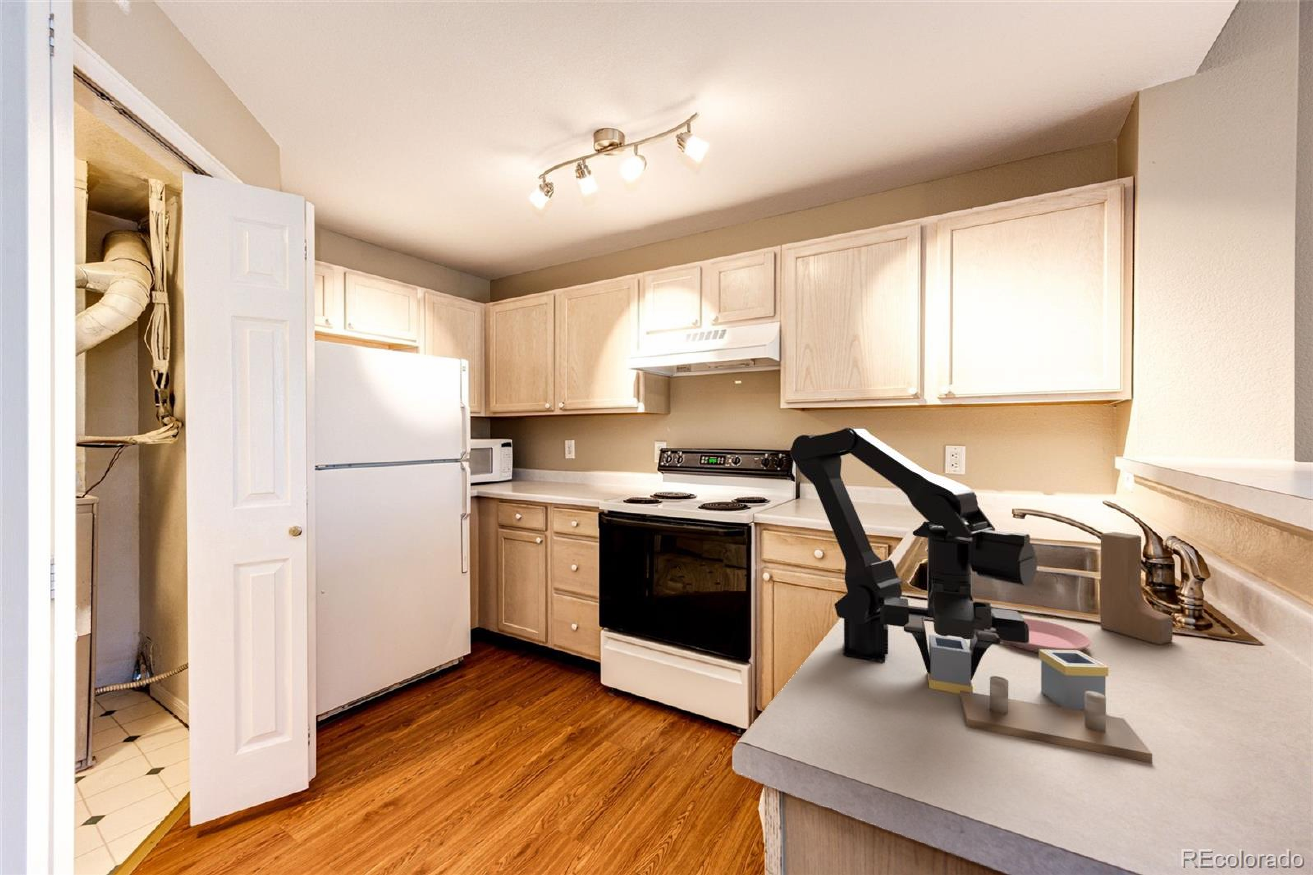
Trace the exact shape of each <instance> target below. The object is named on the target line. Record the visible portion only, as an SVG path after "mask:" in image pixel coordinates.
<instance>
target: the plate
mask: <svg viewBox="0 0 1313 875" xmlns="http://www.w3.org/2000/svg"><path fill="white" fill-rule="evenodd" d="M1023 619H1024V620H1025V621H1026V623H1027V624H1028V628H1029V642H1028V643H1020V642H1013V641H1005V642H1006V643H1009V644H1010V645H1012V646H1015V647H1017V648H1020V649H1023V650H1025V651H1030V652H1035V653H1038V654H1039V650H1078V651H1080V652H1082V650H1084V649H1086V648H1088V647H1089V646H1090V645H1091V639H1090V638H1089V637H1087V635H1085V634H1083V633H1082V632H1079V631H1078V630H1075V629H1073V628H1070V627H1067V626H1064V625H1061V624H1058V623H1054V622H1049V621H1044V620H1039V619H1033V618H1024V617H1023Z"/></svg>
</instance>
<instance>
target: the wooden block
mask: <svg viewBox="0 0 1313 875" xmlns="http://www.w3.org/2000/svg"><path fill="white" fill-rule="evenodd" d="M1099 607H1100V608H1099V609H1100V623H1099V624H1100V626H1099V627H1100V628H1101V629H1103V630H1106V631H1110V632H1114V633H1117V634H1120V635H1124V636H1127V637H1131V638H1134V639H1138V640H1141V641H1144V642H1148V643H1151V644H1154V645H1158V646H1159V645H1160V646H1161V645H1164V644H1166V643H1171V642H1172V641H1173V636H1174V635H1173V634H1174V633H1173V631H1174V630H1173V626H1174V625H1173V620H1174V618H1173V616H1171V615H1169V614H1168V613H1167V614H1166V613H1164V612H1162V611H1159V610H1156V609H1155V608H1153V607H1152V606H1151V605H1150V604H1149V603H1148V602H1147V601H1146V600H1145V598H1144V593H1143V591H1142V536H1140V535H1138V534H1130V533H1125V532H1123V533H1122V532H1118V531H1116V532H1115V531H1114V532H1113V531H1112V532H1105V533H1101V534H1100V606H1099Z"/></svg>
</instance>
